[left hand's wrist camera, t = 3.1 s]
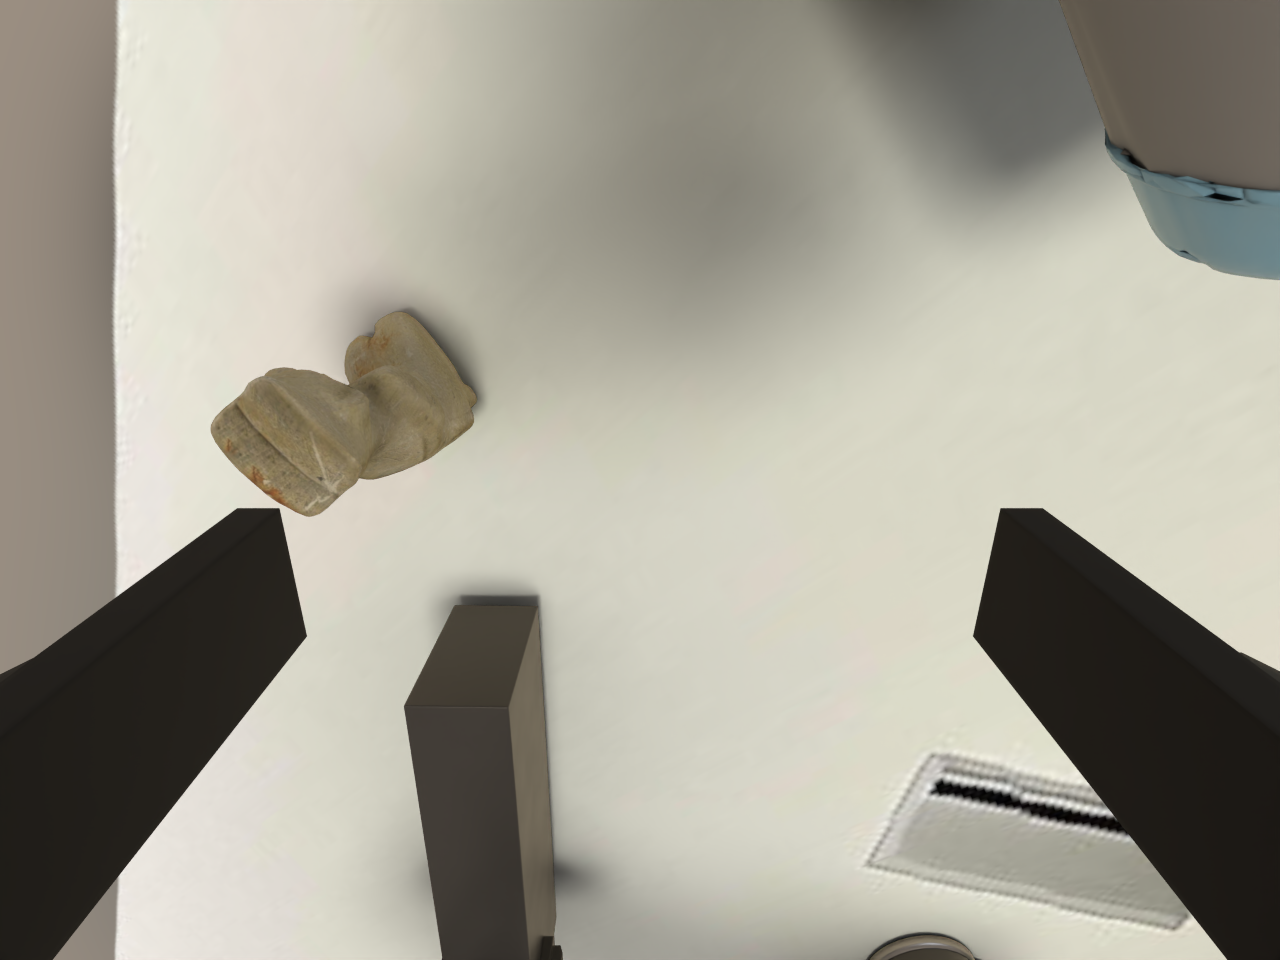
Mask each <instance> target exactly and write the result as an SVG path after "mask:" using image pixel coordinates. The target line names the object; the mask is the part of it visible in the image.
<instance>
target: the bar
mask: <svg viewBox="0 0 1280 960" xmlns="http://www.w3.org/2000/svg"><path fill="white" fill-rule="evenodd" d="M404 709H405V716H406V722H407V729H408V735H409V742H410V749H411V755H412V762H413V768H414V775H415V781H416V788H417V794H418V801H419V807H420V814H421V820H422V827H423V834H424V840H425V847H426V853H427V860H428V866H429V873H430V879H431V886H432V892H433V899H434V905H435V912H436V919H437V925H438V932H439V938H440V945H441V951H442V958H443V960H540V958H541V951H542V944H543V938H544V936H554V931H555V923H556V902H555V885H554V869H553V852H552V835H551V819H550V802H549V785H548V769H547V752H546V735H545V718H544V702H543V685H542V668H541V652H540V635H539V618H538V607H537V606H478V605H455V606H454V608H453V610H452V612H451V614H450V616H449V618H448V620H447V622H446V624H445V626H444V628H443V630H442V632H441V634H440V636H439V637H438V639H437V641H436V643H435V645H434V647H433V649H432V651H431V653H430V655H429V657H428V659H427V661H426V663H425V665H424V667H423V669H422V671H421V673H420V675H419V677H418V679H417V681H416V683H415V685H414V687H413V689H412V691H411V693H410V695H409V697H408V699H407V701H406V703H405V705H404Z"/></svg>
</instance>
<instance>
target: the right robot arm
mask: <svg viewBox="0 0 1280 960" xmlns="http://www.w3.org/2000/svg"><path fill="white" fill-rule="evenodd" d="M442 960H443V958H442ZM540 960H563V954H562V950H561V946H560V945H555V942H554V936H544V938H543V944H542V951H541V958H540ZM869 960H975V959H974V957H973V955H972V954H971V952H970V951H969V950H968V949H967V948H966V947H965V946H964V945H962V944H961V943H959V942H957V941H955V940H952V939H949V938H946V937H941V936H932V935H924V936H914V937H908V938H904V939H901V940H898V941H895V942H893V943H891V944H889V945H887V946H885V947H883V948H882V949H880V950H879V951H878V952H876V953H875V954H874V955H873V956H872V957H871V958H870V959H869Z"/></svg>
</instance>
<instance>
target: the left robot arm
mask: <svg viewBox="0 0 1280 960" xmlns="http://www.w3.org/2000/svg"><path fill="white" fill-rule="evenodd" d="M1059 2H1060V5H1061V7H1062V10H1063V13H1064V16H1065V18H1066V21H1067V24H1068V27H1069V29H1070V32H1071V35H1072V38H1073V40H1074V43H1075V46H1076V49H1077V51H1078V54H1079V57H1080V60H1081V62H1082V65H1083V68H1084V71H1085V73H1086V76H1087V79H1088V81H1089V84H1090V87H1091V90H1092V92H1093V95H1094V98H1095V101H1096V103H1097V106H1098V109H1099V112H1100V114H1101V117H1102V120H1103V123H1104V125H1105V145H1106V148H1107V152H1108V154H1109V155H1110V157H1111V159H1112V161H1113V162H1114V163H1115V164H1116V165H1117V166H1118V167H1119V168H1120V169H1121V170H1122V171H1123V172H1125V173H1126V174H1127V176H1128V178H1129V180H1130V183H1131V185H1132V187H1133V189H1134V191H1135V194H1136V196H1137V198H1138V200H1139V202H1140V205H1141V207H1142V209H1143V211H1144V213H1145V216H1146V218H1147V220H1148V222H1149V224H1150V226H1151V228H1152V230H1153V231H1154V233H1155V235H1156V236H1157V237H1158V238H1159V240H1160V241H1161V242H1162V243H1163V244H1164V245H1165V246H1166V247H1168V248H1169V249H1170V250H1172V251H1173V252H1174V253H1176V254H1177V255H1179V256H1181V257H1184V258H1186V259H1189V260H1192V261H1195V262H1198V263H1203V264H1206V265H1208V266H1209V267H1211V268H1212V269H1213V270H1216V271H1219V272H1223V273H1227V274H1232V275H1239V276H1246V277H1253V278H1260V279H1272V280H1280V0H1059ZM306 637H307V634H306V630H305V625H304V620H303V616H302V611H301V606H300V602H299V597H298V592H297V588H296V583H295V579H294V574H293V569H292V565H291V560H290V555H289V551H288V546H287V541H286V537H285V532H284V527H283V523H282V518H281V513H280V509H279V508H237V509H236V510H234V511H233V512H232V513H230V514H229V515H228V516H226V517H225V518H224V519H222V520H221V521H219V522H218V523H217V524H215V525H214V526H213V527H211V528H210V529H209V530H207V531H206V532H204V533H203V534H202V535H200V536H199V537H198V538H196V539H195V540H194V541H192V542H191V543H189V544H188V545H187V546H185V547H184V548H183V549H181V550H180V551H179V552H177V553H176V554H174V555H173V556H172V557H170V558H169V559H168V560H166V561H165V562H164V563H162V564H161V565H160V566H158V567H157V568H155V569H154V570H153V571H151V572H150V573H149V574H147V575H146V576H145V577H143V578H142V579H140V580H139V581H138V582H136V583H135V584H134V585H132V586H131V587H130V588H128V589H127V590H125V591H124V592H123V593H121V594H120V595H119V596H117V597H116V598H115V599H113V600H112V601H110V602H109V603H108V604H106V605H105V606H104V607H102V608H101V609H100V610H98V611H97V612H96V613H94V614H93V615H91V616H90V617H89V618H87V619H86V620H85V621H83V622H82V623H81V624H79V625H78V626H76V627H75V628H74V629H72V630H71V631H70V632H68V633H67V634H66V635H64V636H63V637H62V638H60V639H59V640H57V641H56V642H55V643H53V644H52V645H51V646H49V647H48V648H46V649H45V650H44V651H42V652H41V653H40V654H38V655H37V656H36V657H34V658H32V659H30V660H28V661H26V662H24V663H22V664H20V665H18V666H16V667H14V668H12V669H10V670H8V671H6V672H4V673H2V674H0V960H53V959H54V957H55V956H56V955H57V954H58V952H59V951H60V950H61V948H62V947H63V946H64V945H65V943H66V942H67V941H68V940H69V938H70V937H71V936H72V934H73V933H74V932H75V931H76V929H77V928H78V927H79V926H80V924H81V923H82V922H83V920H84V919H85V918H86V917H87V915H88V914H89V913H90V912H91V910H92V909H93V908H94V906H95V905H96V904H97V903H98V901H99V900H100V899H101V898H102V896H103V895H104V894H105V892H106V891H107V890H108V889H109V887H110V886H111V885H112V884H113V882H114V881H115V880H116V878H117V877H118V876H119V875H120V873H121V872H122V871H123V870H124V868H125V867H126V866H127V864H128V863H129V862H130V861H131V859H132V858H133V857H134V856H135V854H136V853H137V852H138V851H139V849H140V848H141V847H142V845H143V844H144V843H145V842H146V840H147V839H148V838H149V837H150V835H151V834H152V833H153V831H154V830H155V829H156V828H157V826H158V825H159V824H160V823H161V821H162V820H163V819H164V817H165V816H166V815H167V814H168V812H169V811H170V810H171V809H172V807H173V806H174V805H175V803H176V802H177V801H178V800H179V798H180V797H181V796H182V795H183V793H184V792H185V791H186V789H187V788H188V787H189V786H190V784H191V783H192V782H193V781H194V779H195V778H196V777H197V775H198V774H199V773H200V772H201V770H202V769H203V768H204V767H205V765H206V764H207V763H208V761H209V760H210V759H211V758H212V756H213V755H214V754H215V753H216V751H217V750H218V749H219V747H220V746H221V745H222V744H223V742H224V741H225V740H226V739H227V737H228V736H229V735H230V733H231V732H232V731H233V730H234V728H235V727H236V726H237V725H238V723H239V722H240V721H241V720H242V718H243V717H244V716H245V714H246V713H247V712H248V711H249V709H250V708H251V707H252V706H253V704H254V703H255V702H256V700H257V699H258V698H259V697H260V695H261V694H262V693H263V692H264V690H265V689H266V688H267V686H268V685H269V684H270V683H271V681H272V680H273V679H274V678H275V676H276V675H277V674H278V672H279V671H280V670H281V669H282V667H283V666H284V665H285V664H286V662H287V661H288V660H289V658H290V657H291V656H292V655H293V653H294V652H295V651H296V650H297V648H298V647H299V646H300V644H301V643H302V642H303V641H304V639H305V638H306ZM973 637H974V638H975V639H976V641H977V642H978V643H979V644H980V646H981V647H982V648H983V650H984V651H985V652H986V653H987V655H988V656H989V657H990V658H991V660H992V661H993V662H994V664H995V665H996V666H997V667H998V669H999V670H1000V671H1001V672H1002V674H1003V675H1004V676H1005V678H1006V679H1007V680H1008V681H1009V683H1010V684H1011V685H1012V686H1013V688H1014V689H1015V690H1016V692H1017V693H1018V694H1019V695H1020V697H1021V698H1022V699H1023V700H1024V702H1025V703H1026V704H1027V706H1028V707H1029V708H1030V709H1031V711H1032V712H1033V713H1034V714H1035V716H1036V717H1037V718H1038V720H1039V721H1040V722H1041V723H1042V725H1043V726H1044V727H1045V728H1046V730H1047V731H1048V732H1049V733H1050V735H1051V736H1052V737H1053V739H1054V740H1055V741H1056V742H1057V744H1058V745H1059V746H1060V747H1061V749H1062V750H1063V751H1064V753H1065V754H1066V755H1067V756H1068V758H1069V759H1070V760H1071V761H1072V763H1073V764H1074V765H1075V767H1076V768H1077V769H1078V770H1079V772H1080V773H1081V774H1082V775H1083V777H1084V778H1085V779H1086V781H1087V782H1088V783H1089V784H1090V786H1091V787H1092V788H1093V789H1094V791H1095V792H1096V793H1097V795H1098V796H1099V797H1100V798H1101V800H1102V801H1103V802H1104V803H1105V805H1106V806H1107V807H1108V809H1109V810H1110V811H1111V812H1112V814H1113V815H1114V816H1115V817H1116V819H1117V820H1118V821H1119V823H1120V824H1121V825H1122V826H1123V828H1124V829H1125V830H1126V831H1127V833H1128V834H1129V835H1130V837H1131V838H1132V839H1133V840H1134V842H1135V843H1136V844H1137V845H1138V847H1139V848H1140V849H1141V851H1142V852H1143V853H1144V854H1145V856H1146V857H1147V858H1148V859H1149V861H1150V862H1151V863H1152V864H1153V866H1154V867H1155V868H1156V870H1157V871H1158V872H1159V873H1160V875H1161V876H1162V877H1163V878H1164V880H1165V881H1166V882H1167V884H1168V885H1169V886H1170V887H1171V889H1172V890H1173V891H1174V892H1175V894H1176V895H1177V896H1178V898H1179V899H1180V900H1181V901H1182V903H1183V904H1184V905H1185V906H1186V908H1187V909H1188V910H1189V912H1190V913H1191V914H1192V915H1193V917H1194V918H1195V919H1196V920H1197V922H1198V923H1199V924H1200V926H1201V927H1202V928H1203V929H1204V931H1205V932H1206V933H1207V934H1208V936H1209V937H1210V938H1211V940H1212V941H1213V942H1214V943H1215V945H1216V946H1217V947H1218V948H1219V950H1220V951H1221V952H1222V954H1223V955H1224V956H1225V957H1226V959H1227V960H1280V671H1278V670H1276V669H1274V668H1272V667H1270V666H1268V665H1266V664H1264V663H1262V662H1260V661H1258V660H1256V659H1254V658H1252V657H1250V656H1248V655H1246V654H1244V653H1239V652H1238V651H1236V650H1235V649H1234V648H1232V647H1231V646H1229V645H1228V644H1227V643H1225V642H1224V641H1223V640H1221V639H1220V638H1219V637H1217V636H1216V635H1214V634H1213V633H1212V632H1210V631H1209V630H1208V629H1206V628H1205V627H1204V626H1202V625H1201V624H1199V623H1198V622H1197V621H1195V620H1194V619H1193V618H1191V617H1190V616H1189V615H1187V614H1186V613H1184V612H1183V611H1182V610H1180V609H1179V608H1178V607H1176V606H1175V605H1174V604H1172V603H1171V602H1170V601H1168V600H1167V599H1165V598H1164V597H1163V596H1161V595H1160V594H1159V593H1157V592H1156V591H1155V590H1153V589H1152V588H1150V587H1149V586H1148V585H1146V584H1145V583H1144V582H1142V581H1141V580H1140V579H1138V578H1137V577H1135V576H1134V575H1133V574H1131V573H1130V572H1129V571H1127V570H1126V569H1125V568H1123V567H1122V566H1120V565H1119V564H1118V563H1116V562H1115V561H1114V560H1112V559H1111V558H1110V557H1108V556H1107V555H1106V554H1104V553H1103V552H1101V551H1100V550H1099V549H1097V548H1096V547H1095V546H1093V545H1092V544H1091V543H1089V542H1088V541H1086V540H1085V539H1084V538H1082V537H1081V536H1080V535H1078V534H1077V533H1076V532H1074V531H1073V530H1071V529H1070V528H1069V527H1067V526H1066V525H1065V524H1063V523H1062V522H1061V521H1059V520H1058V519H1056V518H1055V517H1054V516H1052V515H1051V514H1050V513H1048V512H1047V511H1046V510H1044V509H1043V508H1001V509H1000V513H999V518H998V523H997V527H996V532H995V537H994V541H993V546H992V551H991V555H990V560H989V565H988V569H987V574H986V579H985V583H984V588H983V592H982V597H981V602H980V606H979V611H978V616H977V620H976V625H975V630H974V634H973Z"/></svg>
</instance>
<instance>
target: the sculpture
mask: <svg viewBox="0 0 1280 960" xmlns="http://www.w3.org/2000/svg"><path fill="white" fill-rule="evenodd" d="M345 374H346V376H347V379H348V381H349V383H350V384H349V385H345V384H343V383H341V382H338V381H336V380H333V379H332V378H330V377H328V376H327V375H325V374H320V373H317V372H314V371H311V370H296V369H293V368H285V367H284V368H276V369H272V370H270V371H268V372H267V373H266V374H265V376H262V377H259V378H256V379H254V380H253V381H251V382H250V383H248V385H247V387H246V388H245V390H244V392H243V393H242V394H241V395H240V396H239V397H238V398H236V399H235V400H234V401H233V402H231V403H230V404H229V405H228V406H227V407H225V408H224V409H223V410H222V411H221V412H220V413H219V414H218V415H217V416H216V417H215V419H214V420H213V422H212V424H211V434H212V436H213V438H214V440H215V442H216V443H217V445H218V446H219V448H220V449H221V450H222V452H223V453H224V454H225V455H226V457H227V458H228V459H229V460H230V461H231V462H232V463H233V465H234V466H235V467H236V468H237V469H238V470H239V471H240V472H241V473H243V474H244V475H245V476H246V477H247V478H248V479H249V480H251V481H252V482H253V483H254V484H255V485H256V486H257V487H259V488H260V489H261V490H262V491H263V492H264V493H266V494H267V495H268V496H269V497H271V498H272V499H274V500H275V501H277V502H278V503H280V504H282V505H284V506H286V507H288V508H290V509H292V510H293V511H295V512H297V513H299V514H302V515H304V516H308V517H311V516H315V515H318V514H320V513H321V512H323V511H324V510H325V509H327V508H328V507H329V506H330V505H331V504H332V503H333V502H334V501H335V500H336V499H337V498H338V497H340V496H341V495H342V494H343V493H344V492H345V491H346V490H348V489H349V488H350V487H352V486H353V485H354V484H355V483H356V482H357V480H358V479H359V478H361V479H378V478H382V477H385V476H388V475H391V474H394V473H397V472H400V471H403V470H405V469H408V468H410V467H412V466H415V465H417V464H419V463H421V462H424V461H426V460H427V459H429V458H431V457H432V456H434V455H435V454H436V453H438V452H439V451H440V450H441V449H443V448H444V447H446V446H447V445H449V444H450V443H452V442H453V441H455V440H456V439H457V438H458V437H460V436H461V435H462V434H463V433H465V432H466V431H467V430H468V429H470V427H471V426H472V425H473V423H474V416H473V413H472V410H471V407H472V406H473V405H474V404H475V403H476V402H477V397H476V395H475V393H474V392H473V390H472V389H471V388H470V387H469V386H468V385H466V384H464V383H463V382H462V380H461V379H460V377H459V375H458V373H457V371H456V369H455V368H454V366H453V364H452V363H451V361H450V360H449V359H448V357H447V356H446V355H445V353H444V352H443V351H442V349H441V348H440V347H439V345H438V344H437V343H436V342H435V340H434V339H433V338H432V337H431V335H430V334H429V333H428V332H427V330H426V329H425V328H424V327H423V326H422V325H421V324H420V323H419V322H418V321H417V320H416V319H414V318H413V317H412V316H410V315H409V314H407V313H404V312H394V313H391V314H388V315H386V316H385V317H383V318H381V319H380V320H379V321H378V322H377V323H376V325H375V333H374V336H373V337H366V336H358V337H357V338H356V339H355V340H354V341H353V342H352V343H351V344H350V345H349V347H348V349H347V352H346V356H345Z"/></svg>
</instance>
